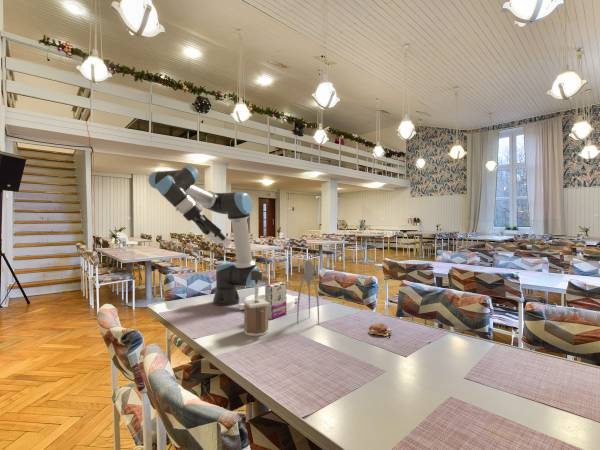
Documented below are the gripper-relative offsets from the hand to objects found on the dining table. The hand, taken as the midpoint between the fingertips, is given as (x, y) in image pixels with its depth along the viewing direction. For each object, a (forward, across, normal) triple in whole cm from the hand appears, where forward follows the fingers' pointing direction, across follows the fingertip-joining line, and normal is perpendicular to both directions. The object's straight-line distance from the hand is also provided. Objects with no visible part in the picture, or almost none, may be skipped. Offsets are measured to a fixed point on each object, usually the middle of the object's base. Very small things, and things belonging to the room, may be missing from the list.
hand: (223, 244), depth 137 cm
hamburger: (+68, +39, +14) cm, 79 cm away
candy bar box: (+47, -7, -6) cm, 48 cm away
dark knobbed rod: (+29, +9, -12) cm, 32 cm away
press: (+35, +10, -18) cm, 41 cm away
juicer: (+55, +7, +2) cm, 56 cm away
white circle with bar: (+51, -25, -2) cm, 57 cm away
